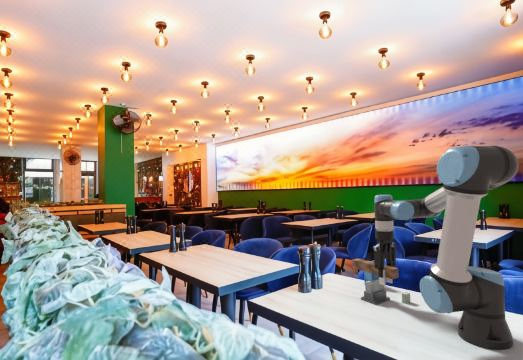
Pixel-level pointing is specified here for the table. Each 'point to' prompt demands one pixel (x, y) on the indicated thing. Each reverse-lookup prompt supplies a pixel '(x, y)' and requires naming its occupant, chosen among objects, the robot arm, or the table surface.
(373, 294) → the fulcrum
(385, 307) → the table surface
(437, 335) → the table surface
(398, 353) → the table surface
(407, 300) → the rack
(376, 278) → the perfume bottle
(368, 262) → the batten
